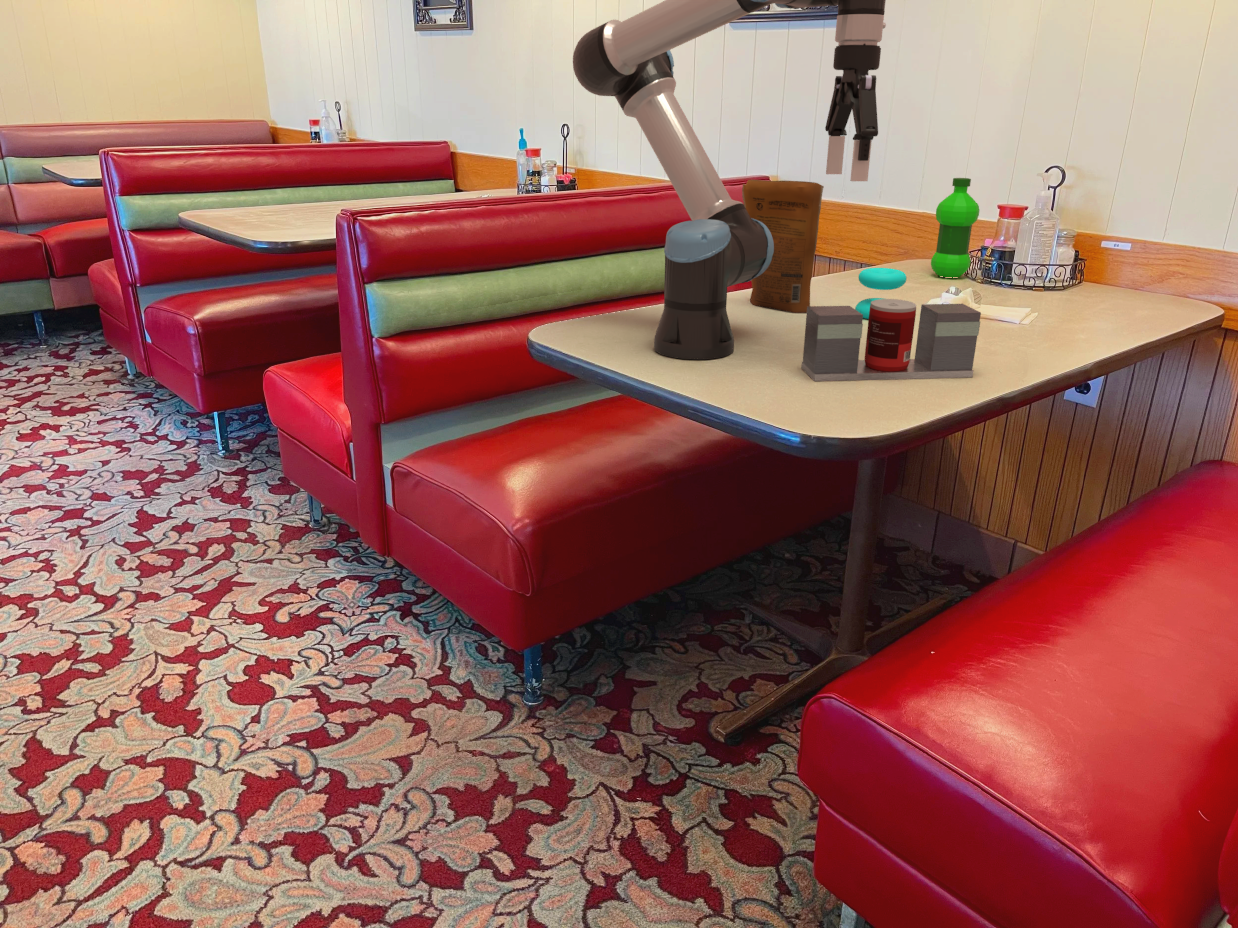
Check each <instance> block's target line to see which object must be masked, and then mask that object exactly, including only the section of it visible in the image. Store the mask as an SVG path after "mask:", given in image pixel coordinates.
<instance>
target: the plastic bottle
mask: <svg viewBox="0 0 1238 928" xmlns="http://www.w3.org/2000/svg"><path fill="white" fill-rule="evenodd" d="M971 181H972V179H971V178H967V177H954V178H953V179H952V186H951V187H953V192H952V193H951V194H949V195H948V196H946V197H945V198H944V199H943V200H942V201H940V202H939V203H938V205H937V207H936V211H935V219H936V220H937V222H938V223H939V228H938V235H937V243H936V251H935V252H934V254H933V256H932V258H931V260H930V266H931V269H932V271H933V272H934V273H935V274H936V275H937V276H938V275H939V276H943V277H952V278H953V277H959V278H960V277H962V276H963V275H964V274H965V273H966V272H967V271H968V270H969V269H970V267H971V257H970V255H969V249H970V248H969V247H970V242H971V233H972V229H973V228H972V227H973V225H974V224H975V223H976V222H977V221H978V218H979V216H980V215H979V214H980V205H979V203H977V201H976V200H975V199H974V198H973V197H972V196H971V195H970V194H969V193H968V188H969V187H971V183H972V182H971Z"/></svg>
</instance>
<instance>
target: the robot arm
mask: <svg viewBox="0 0 1238 928" xmlns="http://www.w3.org/2000/svg"><path fill="white" fill-rule="evenodd" d="M773 4H774V5H775V6H776V7H778V8H780V9H793V10H798V9H802V8H816V7H817V8H818V7H820V8H821V7H834V6H835V7H837V16H836V27H835V36H834V41H835V42H836V43H838V45H837V46H835V47H834V54H833V65H832V66H833V67H832V68H833V69H834V70H836V71H842V72H843V73H842V75H836V76H835V79H834V87H833V92H832V96H831V102H830V105H829V111H828V114H827V119H826V122H825V123H826V124H825V127H824V129H825V132H827V135H828V144H827V145H828V146H827V159H826V170H825V174H826V175H843V174H842V173H843V166H844V165H843V163H844V153H845V143H846V136H847V135H848V133H847V129H846V128H847V127H846V126H847V124H848V121H849V118H850V116H851V114H852V116H853V121H854V127H855V133H854V135H853V137H852V140H853V151H852V152H853V153H852V162H851V170H850V182H868V180H869V169H870V161H871V151H872V150H871V148H872V141H873V140H874V137H878V135H879V124H878V121H879V120H878V108H877V107H878V106H877V95H876V93H877V91H876V88H877V87H876V85H877V75H874V74H873V75H870V74H869V71H877V70H879V68H880V64H881V63H880V60H881V52H882V51H881V50H882V48H881V46H880V45H878V43H880V42H881V41H882V39H883V29H885V28H886V26H887V24H886V22H884V20H885V19H884V18H885V10H886V9H885V8H886V0H664V1H661V2H659V3H657V4H655V5H653V6H651V7H649V8H647V9H645V10H643V11H641V12H639V13H637V14H635V15H632V16H631V17H628V18H627V19H624V20H622V21H621V20H619V19H611V20H608V21H607V22H605V23H602V24H601V25H598V26H597V27H594V28H593V29H591V30H590V31H588V32H586V33H585V34H584V35H583V36H581V38H580V39H579V41H578V42H577V44H576V46H575V47H574V51H573V55H572V69H573V71H574V72H573V73H574V75H575V78H576V79H577V81H578V83H579V84H580V85H581V86H582V87H583V88H584V90H586V91H587V92H588V93H591V94H593V95H597V96H599V97H615V99H616V101H617V103H618V105H619V106H620V107H619V108H621V110H622V112H623V113H624V115H626V117H630V118H635V119H636V121H637V123H638V124H639V127H640V128H641V130H642V133H644V136H645V137H646V139H647V141H648V143H649V144H650V147H651V148H652V150H653V152H654V154H655V156H656V159H658V161H659V163H660V165H661V167H662V169H663V170H664V172H665V174H666V176H667V178H668V180H669V181H670V183H671V185H672V187H673V188H674V190H675V192H676V194H677V196H678V198H679V200H680V201H681V204H682V205H683V207H684V209H685V211H686V212H687V214H688V216H689V218H690V220H686V221H682V222H679V223H676V224H674V225H672V226H671V227H670V228H669V229H668V230H667V232H666V236H665V245H664V248H663V252H664V290H663V291H664V293H663V294H664V296H663V298H664V301H663V310H662V313H661V317H660V319H659V322H658V325H657V329H656V330H655V335H654V338H653V349H654V351H655V352H656V353H658V354H660V355H663V356H665V357H668V358H669V357H670V358H673V359H674V358H675V359H683V360H711V359H713V360H714V359H719V358H724V357H727V356H729V355H731V354H732V353H733V352H734V347H735V337H734V334H733V329H732V326H731V322H730V319H729V316H728V313H727V301H728V300H727V298H728V288H730V287H732V286H735V285H738V284H744V283H748V282H751V280H752V279H754V278H756V277H758V276H760V275H761V274H762V273H763V272H764V271H765V270H766V269H767V268H768V266H769V265H770V263H771V260H772V255H773V252H774V242H773V238H772V235H771V232H770V231H769V229H768V228H767V226H766V225H765V224H763V223H762V222H760V221H758V220H756V219H753V218H751V217H750V215H749V213H748V212H747V210H746V208H745V206H744V202H741V201H738V200H734V199H732V197H731V196H730V193H729V192H728V190H727V189H726V186H725V185H724V183H723V181H722V179H721V178H720V176H719V174H718V172H717V170H716V169H715V167H714V165H713V163H712V161H711V160H710V157H709V156H708V154H707V152H706V150H705V149H704V147H703V145H702V142H701V141H700V140H699V137H698V136H697V134H696V133H695V131H694V129H693V127H692V125H691V123H690V122H689V119H688V118H687V116H686V114H685V113H684V111H683V109H682V107H681V105H680V103H679V102H678V100H677V98H676V96H675V94H674V93H675V89H676V87H677V81H676V79H675V78H674V67H675V62H674V57H673V54H672V51H671V50H673V49H675V48H678V47H680V46H681V45H682V46H683V44H686V43H688V42H690V41H693V40H694V39H696V38H699V37H701V36H704V35H705V34H708V33H710V32H712V31H714V30H716V29H718V28H720V27H724V26H726V25H727V24H729V23H732V22H735V21H736V20H738V19H741V18H743V17H745V16H748V14H752V13H754V12H757V11H759V10H761V9H764V8H766V7H767V6H770V5H773Z"/></svg>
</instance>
